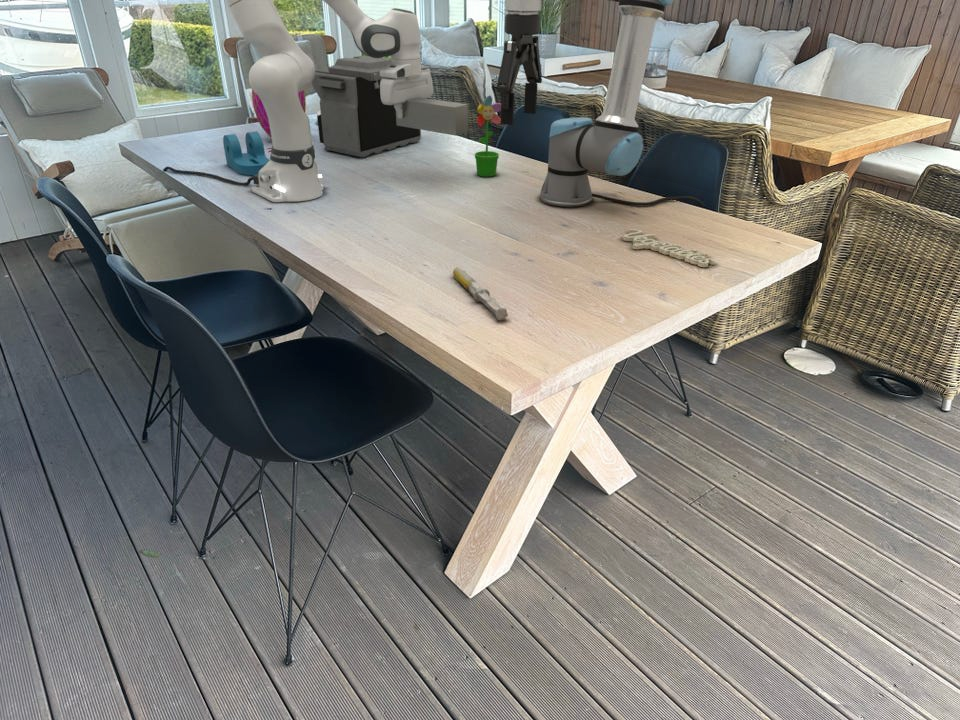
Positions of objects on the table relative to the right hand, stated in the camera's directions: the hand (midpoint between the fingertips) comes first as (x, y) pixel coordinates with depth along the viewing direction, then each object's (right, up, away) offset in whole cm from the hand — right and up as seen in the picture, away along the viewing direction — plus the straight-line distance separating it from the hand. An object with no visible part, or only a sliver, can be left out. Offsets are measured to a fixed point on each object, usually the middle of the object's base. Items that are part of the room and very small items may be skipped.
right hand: (518, 118), depth 154 cm
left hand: (-31, +22, +61) cm, 71 cm away
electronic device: (-50, +26, +104) cm, 118 cm away
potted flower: (-6, +7, +72) cm, 72 cm away
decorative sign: (+36, -27, +15) cm, 48 cm away
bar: (-24, +17, +57) cm, 64 cm away
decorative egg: (-84, +30, +110) cm, 142 cm away
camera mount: (-85, +10, +75) cm, 114 cm away
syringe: (-9, -41, -9) cm, 43 cm away
